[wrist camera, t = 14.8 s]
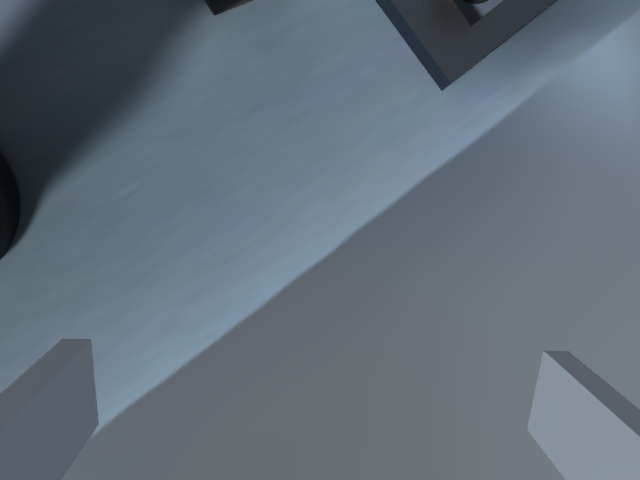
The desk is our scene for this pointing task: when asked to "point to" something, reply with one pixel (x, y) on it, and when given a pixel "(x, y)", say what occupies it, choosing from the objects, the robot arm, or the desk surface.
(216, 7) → the electrical switch
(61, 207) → the desk surface
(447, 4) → the rack plate
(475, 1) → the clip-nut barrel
